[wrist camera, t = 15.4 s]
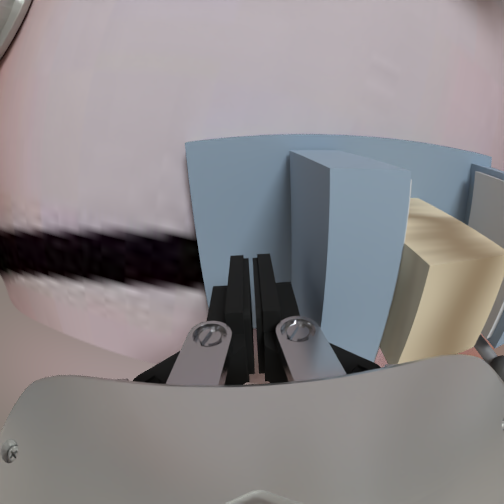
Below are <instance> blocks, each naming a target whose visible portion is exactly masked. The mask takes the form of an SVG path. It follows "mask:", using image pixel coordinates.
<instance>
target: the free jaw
mask: <svg viewBox="0 0 504 504" xmlns="http://www.w3.org/2000/svg"><path fill="white" fill-rule="evenodd" d="M289 156H290V185H291V284H292V288H293V291H294V295H295V299H296V302H297V306H298V310H299V313H300V316H303V317H307V318H310V319H312V320H314V321H315V322H316V323H317V324H318V325H319V327H320V328H321V330H322V332H323V334H324V335H325V337H326V339H327V340H328V342H329V343H332V344H334V345H336V346H338V347H340V348H342V349H345V350H347V351H349V352H351V353H354V354H356V355H358V356H360V357H363V358H365V359H367V360H369V361H372V362H375V359H376V356H377V353H378V350H379V346H380V343H381V340H382V337H383V334H384V330H385V327H386V323H387V320H388V316H389V313H390V309H391V305H392V301H393V297H394V293H395V289H396V284H397V280H398V275H399V270H400V265H401V260H402V254H403V249H404V243H405V237H406V230H407V223H408V215H409V206H410V196H411V184H412V180H411V171H409V170H406V169H403V168H400V167H397V166H394V165H391V164H387V163H384V162H381V161H377V160H374V159H370V158H367V157H363V156H359V155H355V154H352V153H348V152H344V151H339V150H289Z"/></svg>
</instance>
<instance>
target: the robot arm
mask: <svg viewBox="0 0 504 504" xmlns="http://www.w3.org/2000/svg"><path fill="white" fill-rule="evenodd" d="M31 1H32V0H0V59H1V57H2V56H3V54H4V53H5V51H6V50H7V48H8V46H9V44H10V43H11V41H12V39H13V38H14V36H15V34H16V32H17V30H18V29H19V27H20V25H21V23H22V21H23V19H24V17H25V15H26V13H27V10H28V8H29V5H30V3H31ZM252 259H253V276H254V293H255V311H256V328H257V345H258V363H259V374H260V373H265V381H269V382H270V383H268V384H250V385H243V384H245V383H246V382H249V374H255V370H254V345H253V321H252V303H251V288H250V273H249V258H244V256H243V255H234V256H230V265H229V275H228V285H226V286H213V289H212V295H211V300H210V306H209V311H208V317H207V321H206V322H202V323H200V324H197V325H196V326H194V327H193V328H192V329H191V330H190V332H189V333H188V335H187V338H186V340H185V342H184V344H183V346H182V349H181V351H179V352H177V353H176V354H174V355H172V356H171V357H169V358H167V359H166V360H164V361H162V362H161V363H159V364H157V365H155V366H154V367H152V368H150V369H149V370H147V371H145V372H143V373H142V374H140V375H138V376H137V377H136V378H134V380H133V381H129V380H128V379H107V378H98V377H90V376H79V375H57V376H52V377H46V378H42V379H39V380H37V381H35V382H33V383H32V384H30V385H29V386H28V387H27V388H26V389H25V391H24V392H23V393H22V395H21V396H20V397H19V399H18V401H17V402H16V404H15V405H14V407H13V409H12V411H11V412H10V414H9V416H8V418H7V420H6V422H5V424H4V427H3V428H2V431H1V433H0V504H504V382H503V380H502V379H501V378H500V377H499V375H498V374H497V373H496V372H495V370H494V369H493V368H492V367H491V366H490V365H489V364H487V363H486V362H485V361H484V360H482V359H480V358H478V357H475V356H470V355H460V354H449V355H439V356H433V357H427V358H423V359H419V360H415V361H410V362H405V363H401V364H388V365H385V367H383V368H381V367H380V366H379V365H377V364H375V363H374V362H372V361H369V360H367V359H365V358H363V357H360V356H358V355H356V354H354V353H351V352H349V351H347V350H345V349H342V348H340V347H338V346H336V345H334V344H332V343H329V342H328V340H327V339H326V337H325V335H324V334H323V332H322V330H321V328H320V327H319V325H318V324H317V323H316V322H315V321H314V320H312V319H310V318H307V317H303V316H300V313H299V310H298V306H297V302H296V299H295V295H294V291H293V288H292V284H291V282H278V283H276V282H275V277H274V271H273V266H272V261H271V256H270V253H269V254H257V258H252Z"/></svg>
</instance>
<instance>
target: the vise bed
mask: <svg viewBox="0 0 504 504" xmlns="http://www.w3.org/2000/svg"><path fill="white" fill-rule="evenodd" d="M185 148H186V158H187V167H188V176H189V184H190V193H191V200H192V208H193V215H194V223H195V230H196V236H197V243H198V249H199V256H200V262H201V268H202V274H203V280H204V286H205V291H206V297H207V302H208V308H209V306H210V300H211V295H212V289H213V286H226V285H228V275H229V265H230V256H234V255H243V256H244V258H249V273H250V288H251V303H252V321H253V328H256V311H255V293H254V276H253V259H252V258H257V254H269V253H270V256H271V261H272V266H273V271H274V277H275V282H276V283H278V282H291V185H290V156H289V150H339V151H344V152H348V153H352V154H355V155H359V156H363V157H367V158H370V159H374V160H377V161H381V162H384V163H387V164H391V165H394V166H397V167H400V168H403V169H406V170H409V171H411V180H412V184H411V196H410V198H419V199H421V200H423V201H425V202H427V203H429V204H430V205H432V206H434V207H436V208H438V209H440V210H442V211H443V212H445V213H447V214H449V215H451V216H452V217H454V218H456V219H458V220H459V221H461V222H463V223H464V224H466V225H468V226H469V227H471V228H473V229H474V230H476V231H477V232H479V233H481V234H482V235H484V236H485V237H487V238H488V239H490V240H491V241H493V242H494V243H496V244H497V245H499V246H500V247H502V248H503V249H504V172H503V171H500V170H497V169H494V168H491V158H492V157H490V156H486V155H482V154H478V153H474V152H470V151H465V150H460V149H455V148H450V147H445V146H439V145H433V144H427V143H421V142H414V141H406V140H398V139H388V138H378V137H365V136H349V135H322V134H288V135H260V136H243V137H230V138H219V139H210V140H201V141H193V142H187V143H185ZM481 333H482V334H483V336H484V337H485V338H486V339H487V340H488V341H489V342H490V343H491V345H492V346H493V347H494V348H497V347H498V346H501V345H502V344H504V278H503V281H502V284H501V286H500V289H499V292H498V294H497V297H496V300H495V302H494V304H493V307H492V309H491V312H490V314H489V316H488V319H487V321H486V323H485V325H484V327H483V329H482V331H481ZM474 347H475V348H476V350H477V351H478V352H479V354H480V355H481V356H482V358H483V359H484V361H485V362H486V363H487V364H489V365H490V366H491V367H492V368H493V369H494V370H495V372H496V373H497V374H498V375H499V377H500V378H501V379H502V380H503V382H504V356H503V355H502V356H497V355H496V353H495V352H494V351H493V350H492V348H491V347H490V346H489V344H488V343H487V342H486V341H485V339H484V338H483V337H482V336H481V335H479V337H478V339H477V341H476V343H475V345H474Z"/></svg>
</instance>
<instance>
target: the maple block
mask: <svg viewBox="0 0 504 504" xmlns="http://www.w3.org/2000/svg"><path fill="white" fill-rule="evenodd" d="M503 278H504V249H503V248H502V247H500V246H499V245H497V244H496V243H494V242H493V241H491V240H490V239H488V238H487V237H485V236H484V235H482V234H481V233H479V232H477V231H476V230H474V229H473V228H471V227H469V226H468V225H466V224H464V223H463V222H461V221H459V220H458V219H456V218H454V217H452V216H451V215H449V214H447V213H445V212H443V211H442V210H440V209H438V208H436V207H434V206H432V205H430V204H429V203H427V202H425V201H423V200H421V199H419V198H410V206H409V215H408V223H407V230H406V237H405V243H404V249H403V254H402V260H401V265H400V270H399V275H398V280H397V284H396V289H395V293H394V297H393V301H392V305H391V309H390V313H389V316H388V320H387V323H386V327H385V330H384V334H383V337H382V340H381V343H380V346H379V347H380V349H381V351H382V353H383V354H384V356H385V358H386V360H387V362H388V364H401V363H405V362H410V361H415V360H419V359H423V358H427V357H433V356H439V355H449V354H458V353H460V352H463V351H465V350H468V349H470V348H473V347H474V345H475V343H476V341H477V339H478V337H479V335H480V333H481V331H482V329H483V327H484V325H485V323H486V321H487V319H488V316H489V314H490V312H491V309H492V307H493V304H494V302H495V300H496V297H497V294H498V292H499V289H500V286H501V284H502V281H503Z"/></svg>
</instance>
